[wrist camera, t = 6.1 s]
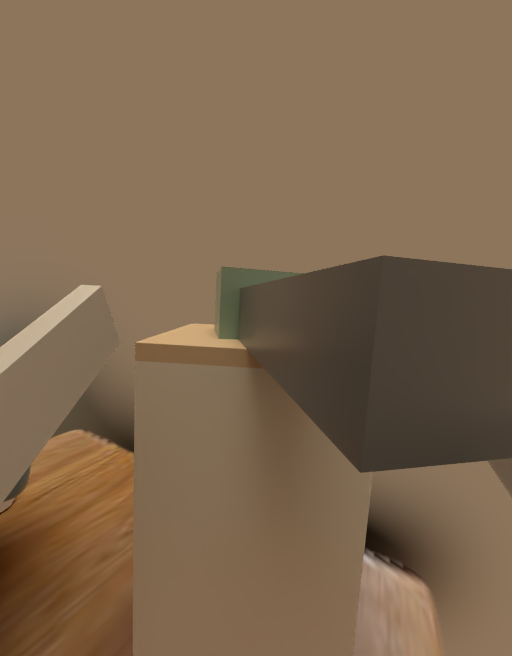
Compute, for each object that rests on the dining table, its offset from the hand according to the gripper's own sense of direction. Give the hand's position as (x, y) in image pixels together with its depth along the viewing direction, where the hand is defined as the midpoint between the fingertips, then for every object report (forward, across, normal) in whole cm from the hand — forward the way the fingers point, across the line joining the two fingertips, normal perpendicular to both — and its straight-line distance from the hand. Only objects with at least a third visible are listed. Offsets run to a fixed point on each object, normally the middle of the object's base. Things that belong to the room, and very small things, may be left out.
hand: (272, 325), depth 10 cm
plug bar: (+4, +1, -5) cm, 6 cm away
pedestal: (-5, 0, -34) cm, 35 cm away
